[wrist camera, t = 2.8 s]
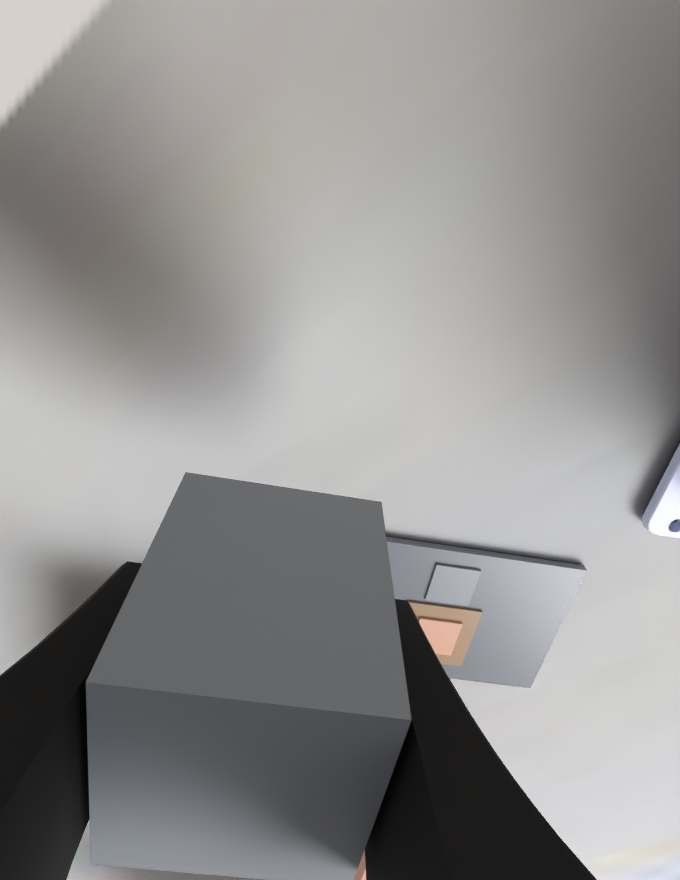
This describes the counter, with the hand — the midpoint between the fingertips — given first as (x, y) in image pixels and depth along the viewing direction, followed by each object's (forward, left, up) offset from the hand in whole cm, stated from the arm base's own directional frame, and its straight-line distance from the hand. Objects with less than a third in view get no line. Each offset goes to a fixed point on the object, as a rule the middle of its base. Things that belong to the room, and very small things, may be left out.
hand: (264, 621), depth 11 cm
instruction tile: (-7, +6, -8) cm, 12 cm away
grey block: (0, 0, -2) cm, 2 cm away
